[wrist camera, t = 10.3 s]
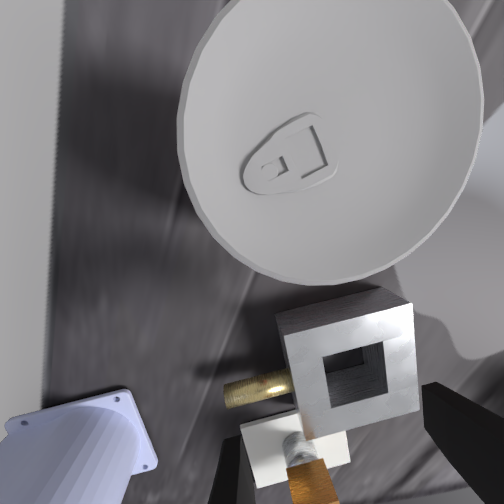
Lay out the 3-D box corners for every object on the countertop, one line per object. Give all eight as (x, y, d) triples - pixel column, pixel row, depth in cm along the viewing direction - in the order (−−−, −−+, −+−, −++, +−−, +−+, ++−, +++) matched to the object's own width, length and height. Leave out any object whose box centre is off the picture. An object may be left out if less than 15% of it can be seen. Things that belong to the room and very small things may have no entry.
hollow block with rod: (238, 420, 20) (240, 459, 17) (212, 328, 18) (209, 354, 15) (391, 379, 21) (419, 409, 18) (381, 286, 19) (412, 303, 16)
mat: (257, 483, 22) (257, 488, 22) (240, 424, 20) (240, 428, 20) (348, 457, 22) (350, 462, 22) (338, 398, 21) (340, 401, 20)
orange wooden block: (317, 463, 22) (349, 560, 16) (288, 471, 21) (309, 572, 16) (307, 415, 20) (338, 500, 14) (276, 423, 20) (295, 513, 14)
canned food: (187, 177, 16) (98, 125, 5) (274, 93, 15) (379, -162, 5) (261, 257, 18) (311, 343, 7) (342, 184, 17) (537, 151, 6)
